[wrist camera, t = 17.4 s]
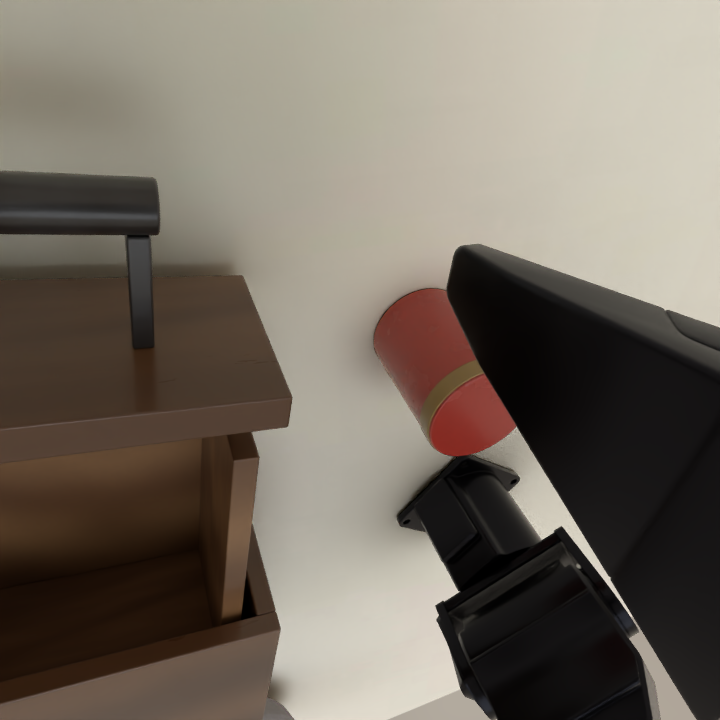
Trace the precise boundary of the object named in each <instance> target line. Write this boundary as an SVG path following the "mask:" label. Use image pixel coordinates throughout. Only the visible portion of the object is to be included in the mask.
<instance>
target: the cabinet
mask: <svg viewBox="0 0 720 720" xmlns="http://www.w3.org/2000/svg"><path fill="white" fill-rule="evenodd" d="M280 630H281V628H280V624H279V620H278V617H277V613H276V612H275V606H274V602H273V598H272V595H271V591H270V587H269V584H268V580H267V576H266V572H265V569H264V565H263V561H262V558H261V554H260V550H259V546H258V543H257V539H256V535H255V531H254V528H253V524H252V526H251V535H250V543H249V552H248V561H247V570H246V578H245V587H244V596H243V604H242V613H241V621H237V622H233V623H229V624H225V625H221V626H217V627H213V628H209V629H205V630H201V631H197V632H194V633H190V634H186V635H182V636H178V637H174V638H170V639H166V640H162V641H158V642H154V643H151V644H147V645H143V646H139V647H135V648H131V649H127V650H123V651H119V652H115V653H111V654H107V655H104V656H100V657H96V658H92V659H88V660H84V661H80V662H76V663H72V664H68V665H64V666H61V667H57V668H53V669H49V670H45V671H41V672H37V673H33V674H29V675H25V676H21V677H17V678H14V679H10V680H6V681H2V682H0V720H263V716H264V711H265V706H266V701H267V696H268V691H269V686H270V681H271V676H272V671H273V665H274V660H275V655H276V650H277V645H278V640H279V635H280Z"/></svg>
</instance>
